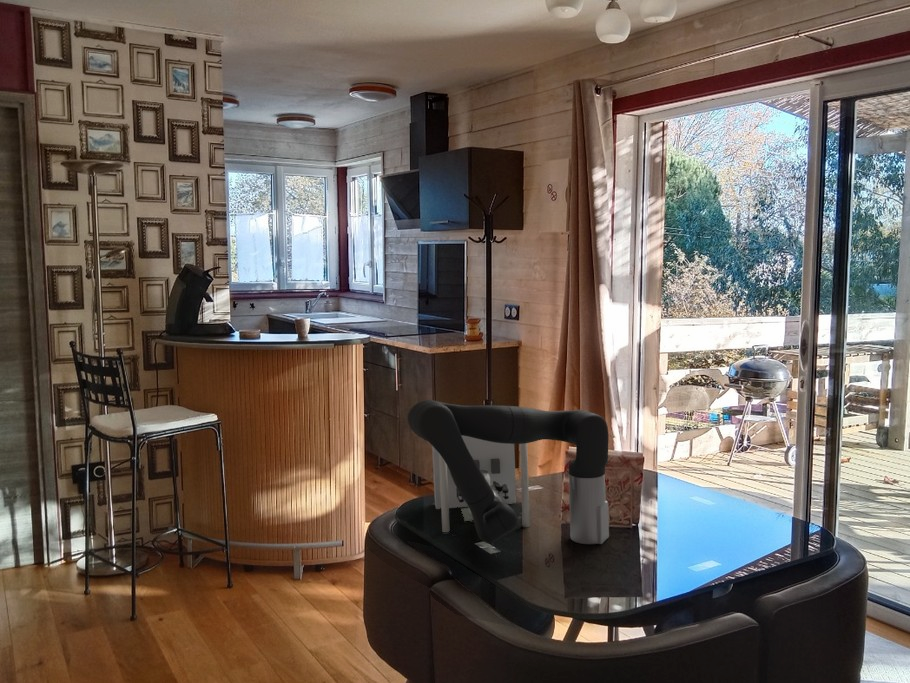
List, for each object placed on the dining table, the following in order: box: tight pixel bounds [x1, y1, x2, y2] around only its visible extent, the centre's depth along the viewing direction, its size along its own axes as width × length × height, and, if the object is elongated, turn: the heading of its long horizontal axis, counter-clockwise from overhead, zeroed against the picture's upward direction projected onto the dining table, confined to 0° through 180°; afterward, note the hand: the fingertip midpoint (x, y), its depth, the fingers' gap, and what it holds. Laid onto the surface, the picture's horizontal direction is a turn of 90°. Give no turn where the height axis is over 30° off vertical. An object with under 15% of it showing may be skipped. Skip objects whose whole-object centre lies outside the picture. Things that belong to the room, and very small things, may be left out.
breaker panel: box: [431, 435, 517, 510], centre depth 233 cm, size 7×24×26 cm, turn 96°
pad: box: [460, 507, 473, 522], centre depth 225 cm, size 10×10×1 cm
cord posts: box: [439, 443, 531, 533], centre depth 212 cm, size 2×24×26 cm, turn 96°
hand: (479, 485), depth 225 cm, fingers open, 8 cm apart
